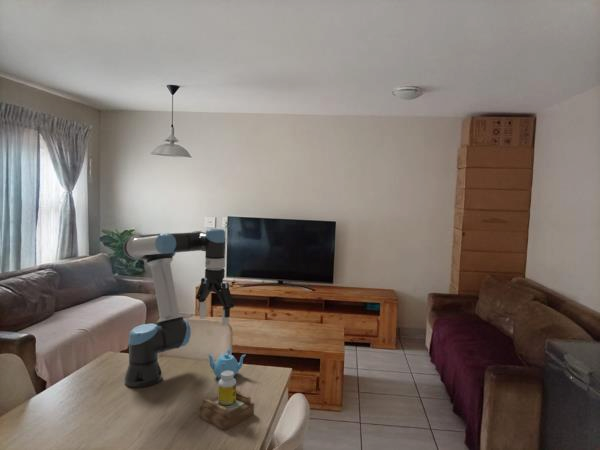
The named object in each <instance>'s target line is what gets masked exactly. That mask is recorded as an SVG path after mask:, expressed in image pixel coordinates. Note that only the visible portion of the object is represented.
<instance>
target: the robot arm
mask: <svg viewBox="0 0 600 450" xmlns="http://www.w3.org/2000/svg"><path fill="white" fill-rule="evenodd" d="M226 240H227V239H226V231H225V229H222V228H207V229H206V231H201V230H200V231H198V230H197V231H196V230H195V231H192V232H177V233H176V232H175V233H169V232H167V233H151V234H150V233H149V234H136V235H135V234H134V235H132V236H129V237H128V238H127V239H125V241H124V242H123V244H122V245H123V246H122V251H123V253H124V255H125V256H126V257H127V258H129V259H131V260H136V261H143V260H146V264H147V265H148V266H149V267H151V274H152V279H153V285H154V291H155V298H156V303H157V309H158V315H159V319H158V320H157V321H156V323H144V324H140V325H137V326H135V327H133V328H132V329H131V330H130V332H129V334H128V335H129V336H128V340H127V341H128V365H127V369H126V372H125V375H124V385H126V386H127V387H130V388H134V389H135V388H136V389H137V388H148V387H151V386H155V385H156V384H158V383H159V382H160V381H162V378H163V375H162V374H163V372H162V369H161V367H160V364H159V358H158V356H159V355H158V354H160V353H165V352H168V351H172V350H175V349H179V348H182V347H184V346H186V345H187V344H188V343H189V341H190V338H191V334H192V333H191V332H192V331H191V325H190V323H189V321H188V320H186V319H184V316H183V315H182V314H180V313H179V312H180V311H179V306H178V300H177V295H176V289H175V283H174V277H173V272H172V267H171V265H172V264H171V263H172V262H173V260H174V257H175V255H176V253H186V252H197V251H198V252H200V251H201V252H205V261H204V262H205V264H204V265H205V266H204V267H205V269H204V277H202V278H201V279H200V284H199V287H198V290H197V292H196V293H197V294H196V295H195V299H196V300H198V302H199V304H198V305H199V307H198V308H199V319H203V318H207V303H208V302H207V298H208V297H209V295H210V294H211V292H212V293H215V294H216V295H217V297H218V298H219V301H220V303H221V305H222V307H223V308H222V310H221V312H222V313H221V314H222V316H221V326H223V327H224V326H229V323H230V316H231V313H230V311H231V309H234V307H235V304H234V301H233V297H232V295H231V290H230V284H229V282H224V278H225V272H226V270H225V267H226Z"/></svg>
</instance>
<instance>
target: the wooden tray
mask: <svg viewBox="0 0 600 450" xmlns="http://www.w3.org/2000/svg"><path fill="white" fill-rule="evenodd" d="M198 409H199V410H198V413H199V417H200V418H202V419H203V420H206V422H209V423H211V424H212V425H214V426H216V427H218V428H220V429H222V430H224V431H227V430H229V429H230V428H232V427H234V426H235V425H237V424H239V423H241V422H243V421H244V420H246V419H248V418H249V417H251V416H253V415H255V414H254V413H255V403H253V402H252V400H251V396H249V395H247V394H245V393H242V392H241V391H239V390H236V403H235V405H234V406H232V407H228V408H225V407H223V406H221V405H219V404H218V396H217V397H215V398H212V399H208V398H207V397H204V398H203V399H202V404H200V405H199V406H198Z"/></svg>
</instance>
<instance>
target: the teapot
mask: <svg viewBox="0 0 600 450" xmlns="http://www.w3.org/2000/svg"><path fill="white" fill-rule="evenodd" d="M206 355H207V356H208V358H209V367H210V369H212V371H213V373H214V375H215V376H216V377H217V380H220V379H222V378H221V373H222V372H223V371H233V372H234V377H235V376H236V375H237V374H238V373H239V371H240V369H241V368H242V367H243V363H244V362H243V361H244V358H245V356H246V354H242V355H241V356H240V357H239V362H238V360H237V358H236V357H235V356H234V355H232V354H231V347H230V346H229V347H228V348H227V352H226V353H223V354H222V355H220V356H218V357H217V358H216V360H215V362H214V359H213V355H211V354H209V353H207V354H206Z"/></svg>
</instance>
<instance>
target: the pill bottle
mask: <svg viewBox="0 0 600 450" xmlns="http://www.w3.org/2000/svg"><path fill="white" fill-rule="evenodd" d="M234 377H235V376H234V372H233V371H223V372H222V373H221V378H222V379H218V387H217V388H218V395H217V397H218V404H219V405H221V406H223V407H225V408H228V407H232V406H234V405H235V403H236V391H237V380H236V378H234Z"/></svg>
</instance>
